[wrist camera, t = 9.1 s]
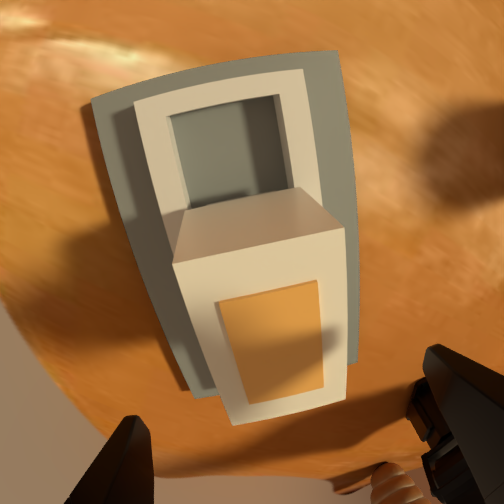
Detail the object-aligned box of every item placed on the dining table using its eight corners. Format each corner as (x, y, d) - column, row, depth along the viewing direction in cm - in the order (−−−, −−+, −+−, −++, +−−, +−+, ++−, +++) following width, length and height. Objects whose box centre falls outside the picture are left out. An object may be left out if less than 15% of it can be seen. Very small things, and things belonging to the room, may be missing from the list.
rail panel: (330, 53, 14) (349, 45, 11) (352, 353, 22) (364, 376, 20) (97, 99, 13) (78, 98, 11) (194, 388, 22) (194, 414, 20)
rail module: (289, 177, 15) (346, 229, 9) (306, 310, 19) (346, 401, 12) (187, 198, 15) (171, 266, 9) (223, 328, 19) (232, 428, 12)
